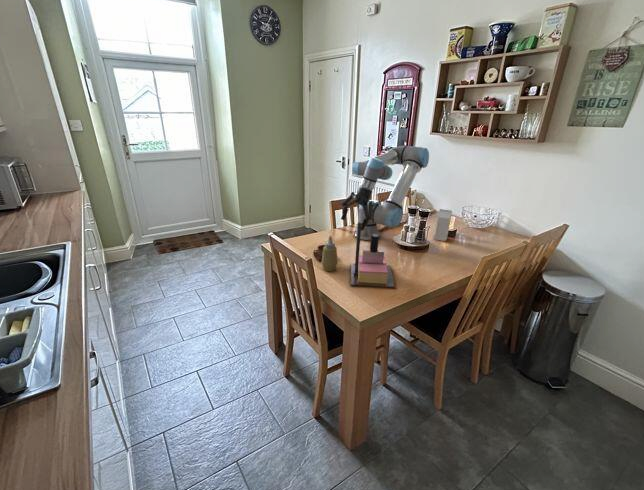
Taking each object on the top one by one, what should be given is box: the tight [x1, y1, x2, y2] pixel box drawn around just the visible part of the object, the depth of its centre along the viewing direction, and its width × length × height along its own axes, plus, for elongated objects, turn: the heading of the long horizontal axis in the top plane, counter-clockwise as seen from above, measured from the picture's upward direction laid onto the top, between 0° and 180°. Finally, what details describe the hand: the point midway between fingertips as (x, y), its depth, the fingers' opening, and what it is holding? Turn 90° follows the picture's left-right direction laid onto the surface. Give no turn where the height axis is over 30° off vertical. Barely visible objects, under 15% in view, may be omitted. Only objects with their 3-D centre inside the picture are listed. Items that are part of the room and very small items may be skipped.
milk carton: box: [433, 208, 453, 242], centre depth 203 cm, size 7×7×19 cm
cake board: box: [350, 222, 396, 290], centre depth 155 cm, size 22×20×27 cm
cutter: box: [362, 234, 385, 265], centre depth 154 cm, size 4×10×15 cm, turn 85°
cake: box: [358, 254, 388, 284], centre depth 159 cm, size 17×13×6 cm
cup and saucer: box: [312, 244, 325, 261], centre depth 177 cm, size 12×12×6 cm
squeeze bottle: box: [321, 235, 338, 272], centre depth 163 cm, size 8×8×18 cm
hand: (351, 224), depth 179 cm, fingers open, 13 cm apart
